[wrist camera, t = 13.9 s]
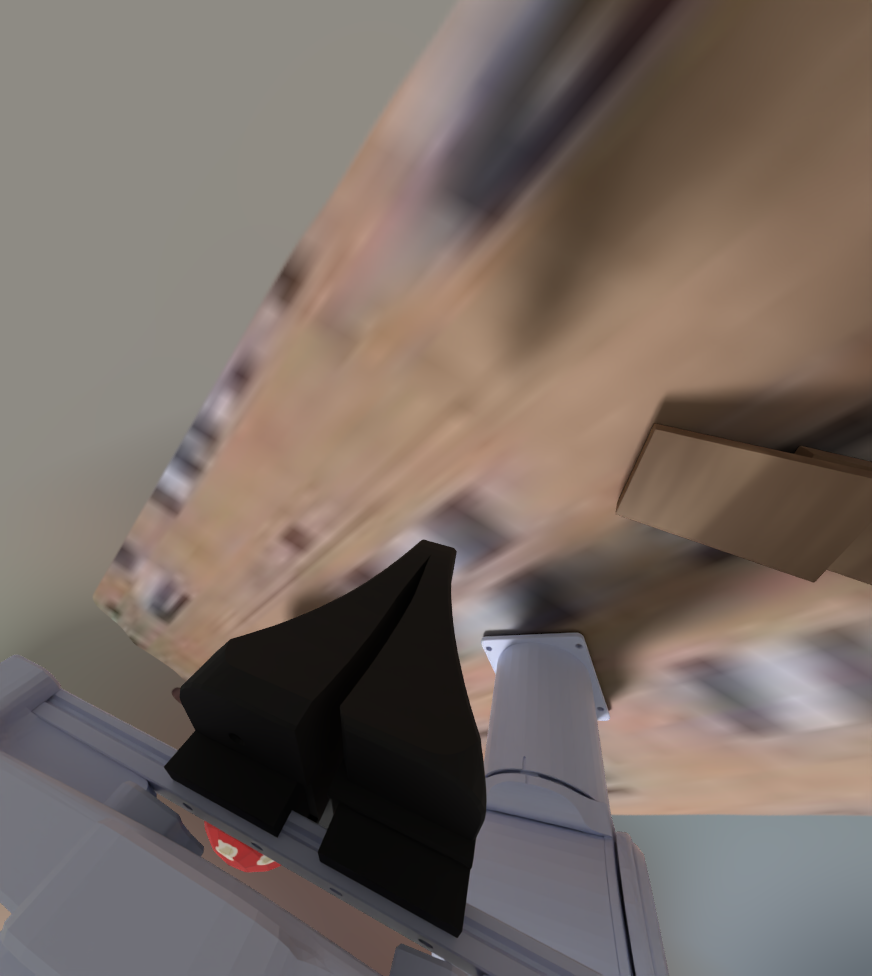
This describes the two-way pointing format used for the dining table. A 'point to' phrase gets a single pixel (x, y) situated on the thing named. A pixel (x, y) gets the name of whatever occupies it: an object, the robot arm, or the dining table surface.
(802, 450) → the domino
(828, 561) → the domino
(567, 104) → the dining table surface
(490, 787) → the robot arm
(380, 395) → the dining table surface
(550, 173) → the dining table surface
